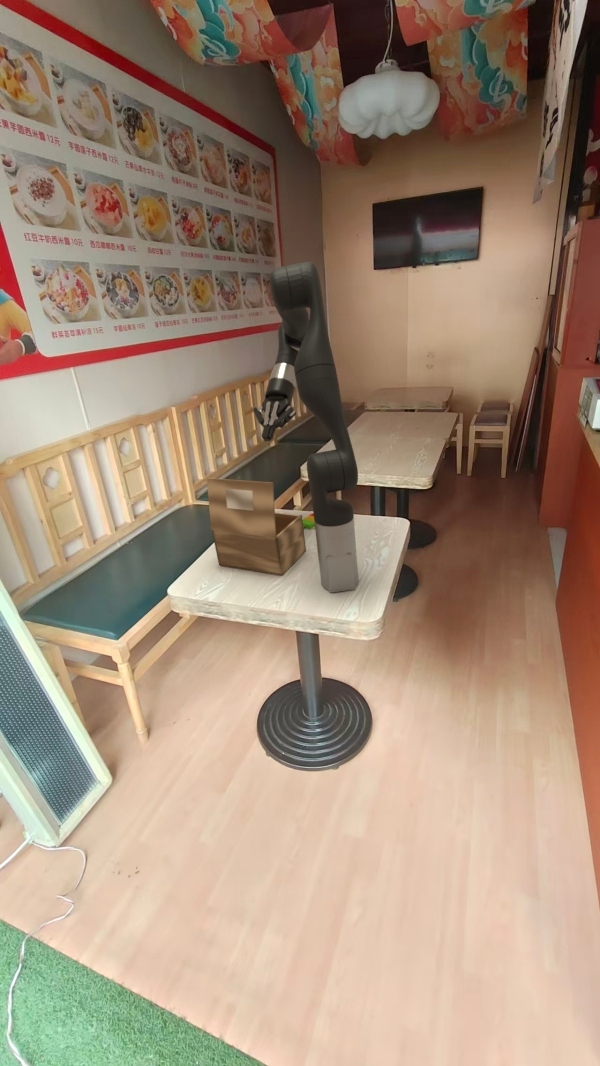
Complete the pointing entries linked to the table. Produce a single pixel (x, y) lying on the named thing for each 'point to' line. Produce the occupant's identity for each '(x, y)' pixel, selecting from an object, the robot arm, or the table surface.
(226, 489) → the flap
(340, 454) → the robot arm
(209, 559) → the table surface
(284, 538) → the brown wooden box
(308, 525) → the popsicle
